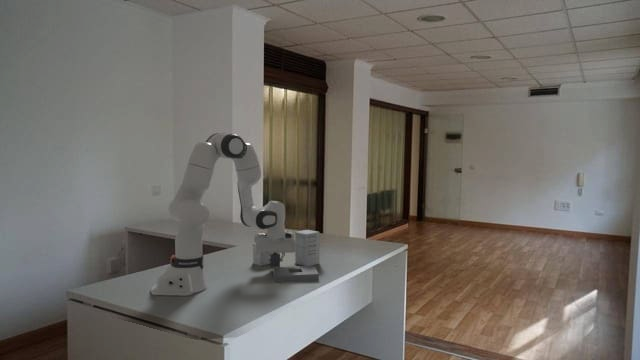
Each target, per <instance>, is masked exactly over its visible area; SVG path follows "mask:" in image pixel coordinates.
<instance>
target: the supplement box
mask: <svg viewBox="0 0 640 360" xmlns="http://www.w3.org/2000/svg"><path fill="white" fill-rule="evenodd" d="M294 236H295V238H294V240H295V243H296V251H295V252H294V255H295V259H294V260H295V261H294V263H295V264H297V265H299V266H315V265H318V264H320V260H321V259H320V231H316V230H311V229H303V230H298V231H295V232H294Z"/></svg>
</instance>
